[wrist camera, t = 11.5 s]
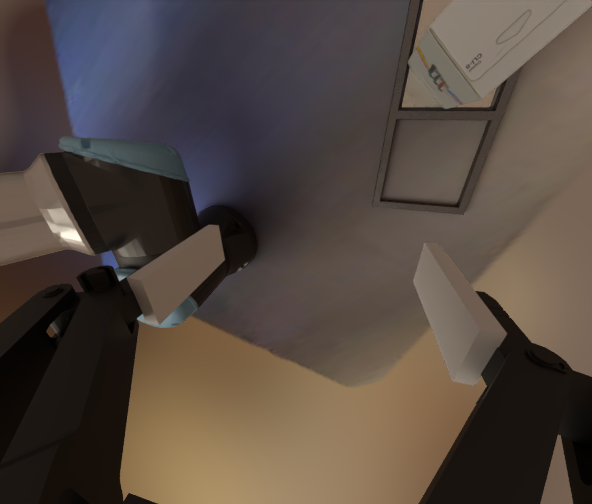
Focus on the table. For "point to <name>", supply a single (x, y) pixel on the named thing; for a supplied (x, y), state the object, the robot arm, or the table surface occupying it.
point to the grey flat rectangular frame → (422, 97)
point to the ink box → (486, 44)
